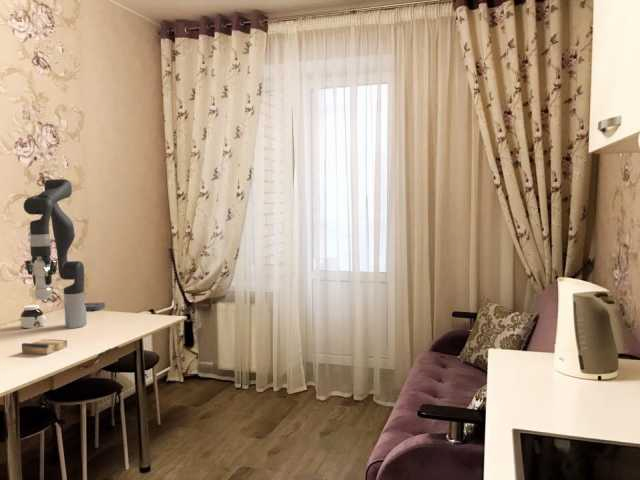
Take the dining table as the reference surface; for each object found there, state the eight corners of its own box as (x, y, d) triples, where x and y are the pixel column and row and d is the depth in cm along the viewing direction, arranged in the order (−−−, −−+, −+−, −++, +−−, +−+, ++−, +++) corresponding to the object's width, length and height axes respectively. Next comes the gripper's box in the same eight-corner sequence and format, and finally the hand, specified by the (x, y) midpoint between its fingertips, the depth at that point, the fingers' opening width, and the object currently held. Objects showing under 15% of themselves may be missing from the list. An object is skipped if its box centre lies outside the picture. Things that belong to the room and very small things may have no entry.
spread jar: (23, 331, 247) (21, 308, 246) (18, 327, 256) (17, 305, 255) (49, 327, 255) (48, 305, 254) (44, 323, 263) (43, 302, 263)
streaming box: (106, 309, 299) (105, 302, 299) (98, 314, 287) (98, 306, 286) (84, 310, 298) (84, 303, 298) (75, 315, 286) (75, 307, 285)
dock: (43, 345, 221) (43, 336, 220) (67, 346, 218) (66, 337, 218) (22, 353, 209) (21, 343, 209) (46, 355, 206) (46, 345, 206)
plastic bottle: (56, 298, 215) (53, 252, 213) (42, 301, 208) (40, 253, 207) (44, 297, 217) (42, 251, 215) (31, 300, 210) (28, 253, 209)
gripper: (61, 244, 213) (63, 283, 214) (32, 244, 216) (34, 283, 217) (48, 245, 206) (50, 286, 207) (18, 245, 208) (21, 285, 210)
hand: (42, 284), depth 212 cm, fingers closed on plastic bottle, 5 cm apart
